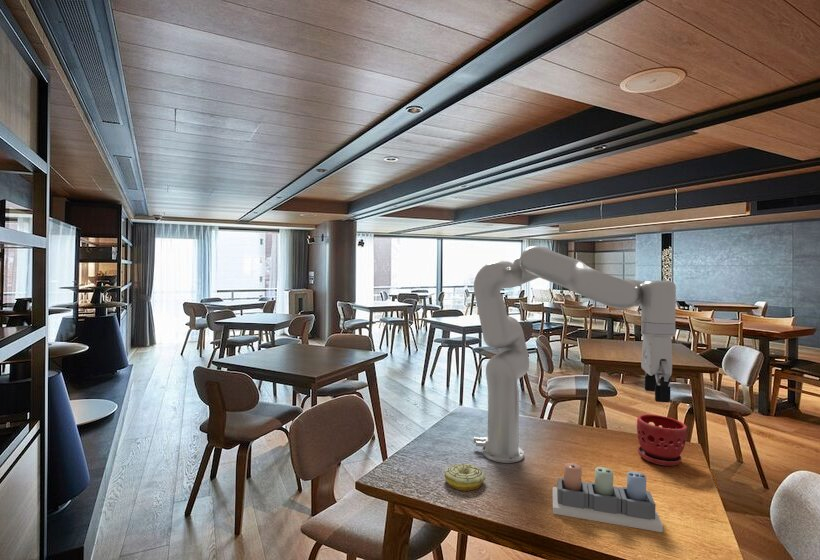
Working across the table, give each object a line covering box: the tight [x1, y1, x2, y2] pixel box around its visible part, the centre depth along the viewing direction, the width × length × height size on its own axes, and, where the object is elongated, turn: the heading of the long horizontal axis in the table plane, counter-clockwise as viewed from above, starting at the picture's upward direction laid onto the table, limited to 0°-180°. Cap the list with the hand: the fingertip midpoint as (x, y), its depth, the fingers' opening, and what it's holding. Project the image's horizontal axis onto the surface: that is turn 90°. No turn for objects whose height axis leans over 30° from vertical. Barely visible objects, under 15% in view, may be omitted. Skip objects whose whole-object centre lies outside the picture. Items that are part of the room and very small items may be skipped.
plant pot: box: [636, 414, 688, 466], centre depth 131 cm, size 13×13×12 cm
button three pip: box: [626, 470, 647, 501], centre depth 101 cm, size 4×4×5 cm
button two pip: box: [594, 466, 614, 496], centre depth 103 cm, size 4×4×5 cm
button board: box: [552, 477, 664, 533], centre depth 103 cm, size 23×10×5 cm, turn 72°
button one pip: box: [563, 462, 583, 491], centre depth 105 cm, size 4×4×5 cm
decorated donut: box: [444, 463, 486, 492], centre depth 116 cm, size 10×11×4 cm
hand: (656, 396), depth 110 cm, fingers open, 9 cm apart
